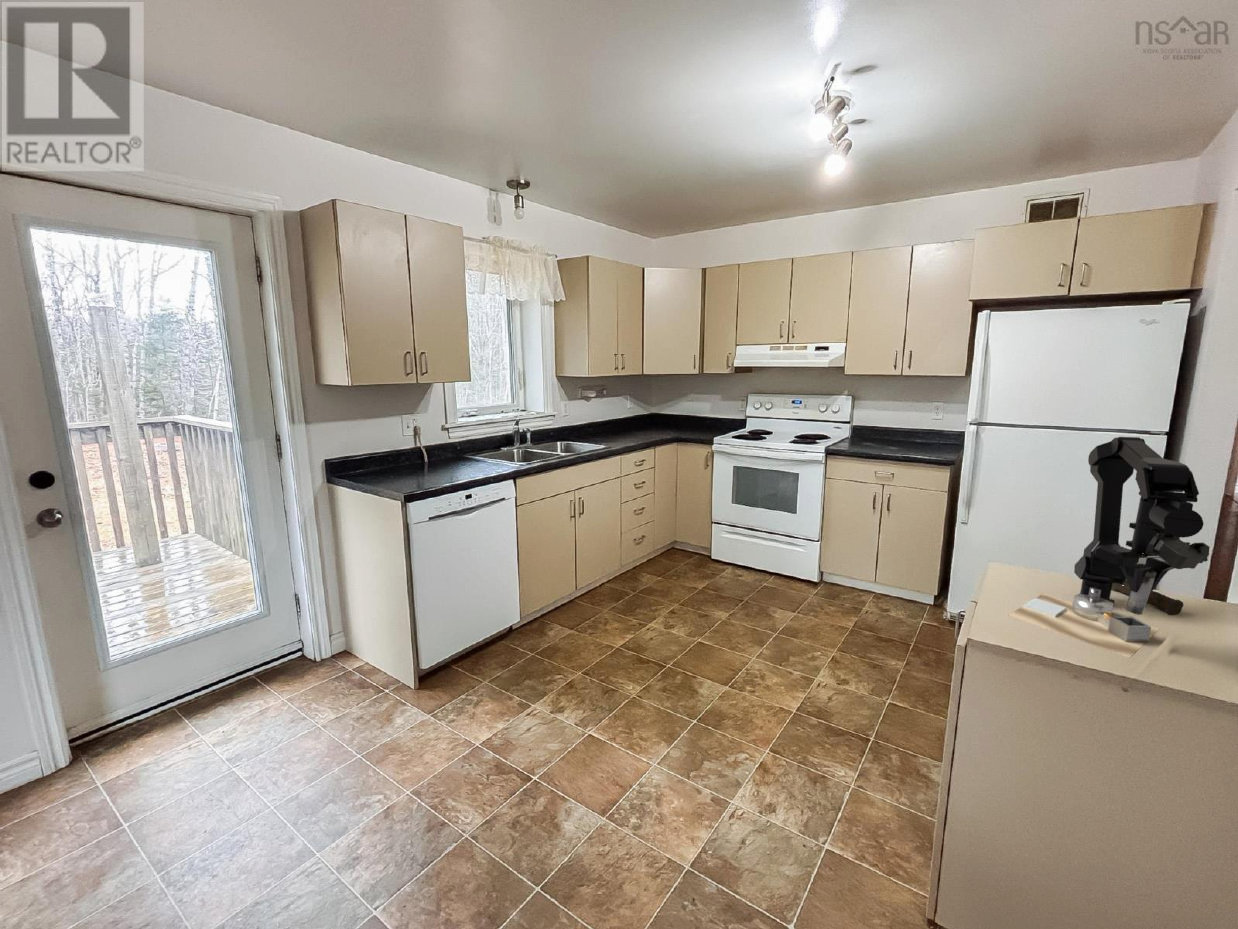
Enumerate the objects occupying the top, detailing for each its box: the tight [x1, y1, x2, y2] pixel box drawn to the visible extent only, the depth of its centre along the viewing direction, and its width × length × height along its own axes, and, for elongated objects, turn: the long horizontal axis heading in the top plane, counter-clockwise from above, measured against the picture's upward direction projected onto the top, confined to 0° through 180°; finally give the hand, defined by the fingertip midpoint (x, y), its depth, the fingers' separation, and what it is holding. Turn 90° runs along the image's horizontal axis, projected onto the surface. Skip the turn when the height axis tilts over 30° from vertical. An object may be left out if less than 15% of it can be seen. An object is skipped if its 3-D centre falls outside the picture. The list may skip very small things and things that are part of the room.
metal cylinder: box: [1124, 568, 1157, 616], centre depth 116 cm, size 3×3×10 cm
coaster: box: [1023, 597, 1066, 617], centre depth 132 cm, size 6×6×1 cm
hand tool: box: [1111, 579, 1184, 616], centre depth 139 cm, size 19×4×5 cm, turn 5°
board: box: [1007, 593, 1160, 658], centre depth 125 cm, size 20×22×2 cm
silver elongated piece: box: [1072, 587, 1152, 643], centre depth 123 cm, size 16×7×6 cm, turn 177°
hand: (1141, 591), depth 116 cm, fingers closed on metal cylinder, 3 cm apart
